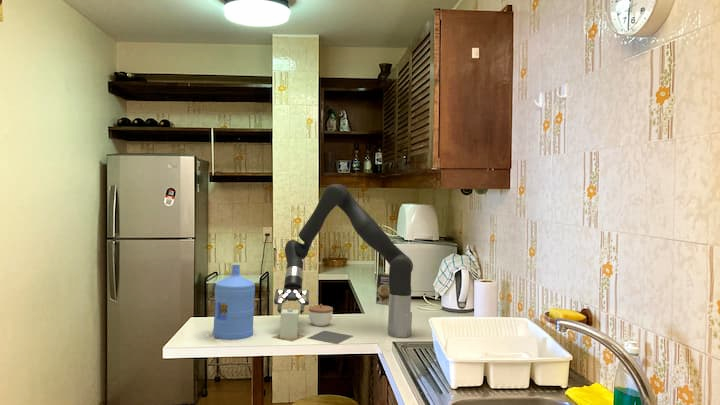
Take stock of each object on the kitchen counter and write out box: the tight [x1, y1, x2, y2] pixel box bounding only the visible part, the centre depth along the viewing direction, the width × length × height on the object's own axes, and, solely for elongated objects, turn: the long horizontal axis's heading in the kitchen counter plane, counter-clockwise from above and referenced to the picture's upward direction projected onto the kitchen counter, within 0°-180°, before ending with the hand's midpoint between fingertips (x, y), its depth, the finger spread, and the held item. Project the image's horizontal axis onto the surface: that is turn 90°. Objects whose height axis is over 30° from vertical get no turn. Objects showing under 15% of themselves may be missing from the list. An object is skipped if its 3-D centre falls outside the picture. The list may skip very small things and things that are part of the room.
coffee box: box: [375, 272, 389, 306], centre depth 272 cm, size 9×6×16 cm
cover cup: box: [279, 307, 300, 340], centre depth 198 cm, size 7×7×11 cm
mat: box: [306, 330, 354, 345], centre depth 199 cm, size 14×14×1 cm
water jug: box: [212, 264, 256, 340], centre depth 198 cm, size 16×16×28 cm
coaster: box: [271, 333, 306, 342], centre depth 197 cm, size 10×10×1 cm
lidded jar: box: [308, 303, 334, 327], centre depth 219 cm, size 11×11×9 cm
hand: (290, 312), depth 199 cm, fingers open, 8 cm apart
